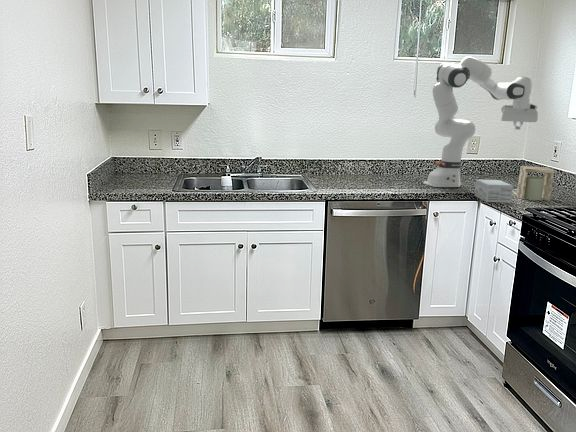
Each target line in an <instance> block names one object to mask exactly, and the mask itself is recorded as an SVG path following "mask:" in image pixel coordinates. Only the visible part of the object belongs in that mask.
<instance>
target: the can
mask: <svg viewBox="0 0 576 432" xmlns="http://www.w3.org/2000/svg"><path fill="white" fill-rule="evenodd" d="M544 180H545V178H544V177H542V176H534V175H531V176H530V175H527V180H526V187H525V193H524V198H525V199H524V200H527V199H531V200H530V201H535V200H540V201H542V200H543V198H542V192H543V186H544Z"/></svg>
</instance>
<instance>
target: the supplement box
mask: <svg viewBox="0 0 576 432" xmlns="http://www.w3.org/2000/svg"><path fill="white" fill-rule="evenodd" d="M474 189H475V190H474V196H475V198H476V197H477V198H478V199H480V200H482V201H484V202H486V203H503V204H505V203H506V204H507V203H508V204H511V203H512V196H513V193H512V191H514V190H513V189H514V185H513V184H510V183H508V182H506V181H503V180H500V179H476V181H475V188H474Z"/></svg>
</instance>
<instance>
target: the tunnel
mask: <svg viewBox="0 0 576 432" xmlns="http://www.w3.org/2000/svg"><path fill="white" fill-rule="evenodd" d="M519 169H520V170H519V173H518V175H519V176H518V183H517V189H516V191H515V190H513V191H512V195H514V194H515V196H516V197H517V196H518V197H517V198H519V199H520V198H521V199H520V200H522V199H524V193H525V187H526V180H527V176H528V173H529V172H531V173H543V174H544V177H543V178H545V180H544V186H543V192H542V199H543V198H544V199H543V200H545V199H546V200H545V201H547V200H548V201H547V202H550V200H551V194H552V188H553V183H554V182H553V181H554V175H555V169H553V168H551V167H547V166H545V167H544V166H526V165H520V168H519ZM524 200H525V199H524Z"/></svg>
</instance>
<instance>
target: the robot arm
mask: <svg viewBox="0 0 576 432" xmlns="http://www.w3.org/2000/svg"><path fill="white" fill-rule="evenodd" d="M492 73H493V72H492V68H491V67H490V66H489V65H488V64H487V63H485V62H484V61H482V60H481V59H477V58H475V57H472V56H465V57H464V58H463V59H462V60H461V61H460V63H459V64H455V63H453V62H451V61H450V62H449V61H445V62H442V63H441V64H440V65H438V67H437V70H436V82H437V83H436V84H434V86H433V87H432V96H433V100H434V104H435V107H436V111H437V113H438V120H437V121H436V123H435V125H434V131H435V133H436V135H438V136H441V137H443V138H450V141H449V142H448V143H447V144H445V145H444V146H443V148H442V152H441V153H442V154H441V159H440V161H437V160H436V161H435V165H438V166H437V167H436V168H435V169H434V170H432V171H431V172H429V174H428V177H427V180H426V181H425V180H424V181H423V185H426V186H429V187H435V188H460V187H461V186H462V184H461V168H462V156H463V151H464V150H463V149H464V147H465V144H466V143H467V141H468V140H469V139H471V138H472V137H474V135H475V132H476V125H475V124H474V122H472V121H470V120H467V119H458V118H455V115H456V114H457V113H458V111H459V106H458V103H457V100H456V97H455V95H454V90H453V89H454V88H455V89H457V88H461V87H463V86H464V85H465V84H467V81H469V80H470V81H472V82H474V83H475V84H477V85H479V86H480V87H482V88H483V89H484V90H486V91H487V92H488V93H489V94H490V96H491V97H492V98H493V99H494V100H496V101H499V100H512V104H510V105H506V104H505V105H503V106H502V107H501V113H500V118H499V119H500V121H501V122H512V123H513V124H512V125H513V126H514V128H513V129H514V130H519V131H520V130H521V127H522V126H523V124H524V123H537V121H538V117H539V112H538V110H537V109H538V105H535V104H534V103H530V97H531V96H530V95H531V91H532V79H531V78H529V77H525V76H519V77H517V78H516V79H515V80H513V81H511V82H497V81H495V80H493V79H492V78H491V77H492ZM518 122H519V125H518V126H517V123H518Z"/></svg>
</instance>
